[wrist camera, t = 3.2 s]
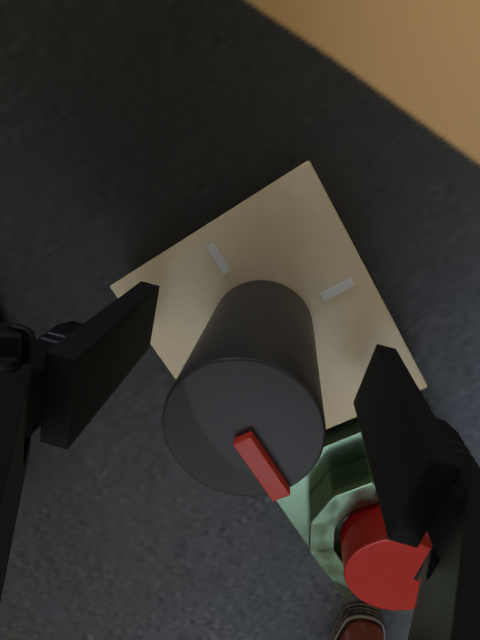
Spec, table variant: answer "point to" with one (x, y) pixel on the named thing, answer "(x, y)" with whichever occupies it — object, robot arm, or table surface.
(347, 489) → the box
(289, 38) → the table surface
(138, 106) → the table surface
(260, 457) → the hob knob
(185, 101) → the table surface
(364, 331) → the hob panel
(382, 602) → the button
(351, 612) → the lighter
